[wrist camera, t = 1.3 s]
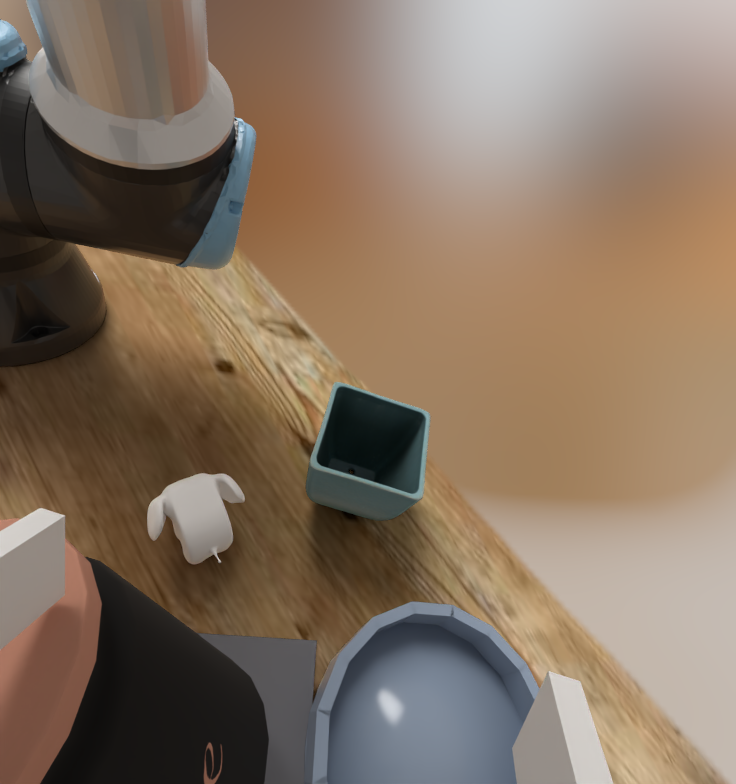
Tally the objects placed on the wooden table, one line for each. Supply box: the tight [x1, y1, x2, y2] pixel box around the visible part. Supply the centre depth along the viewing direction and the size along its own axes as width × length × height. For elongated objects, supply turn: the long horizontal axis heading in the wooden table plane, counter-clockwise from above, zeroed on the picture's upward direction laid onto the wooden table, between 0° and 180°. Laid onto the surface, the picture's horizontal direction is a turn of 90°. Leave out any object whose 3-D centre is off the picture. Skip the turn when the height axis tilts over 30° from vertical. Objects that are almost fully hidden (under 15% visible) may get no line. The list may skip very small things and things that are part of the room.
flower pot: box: [306, 382, 430, 521], centre depth 37 cm, size 9×9×9 cm
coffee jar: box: [0, 518, 269, 784], centre depth 18 cm, size 11×11×18 cm
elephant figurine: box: [147, 473, 245, 564], centre depth 32 cm, size 7×8×6 cm
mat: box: [197, 633, 317, 784], centre depth 26 cm, size 14×14×1 cm
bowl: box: [304, 602, 540, 784], centre depth 28 cm, size 17×17×4 cm
